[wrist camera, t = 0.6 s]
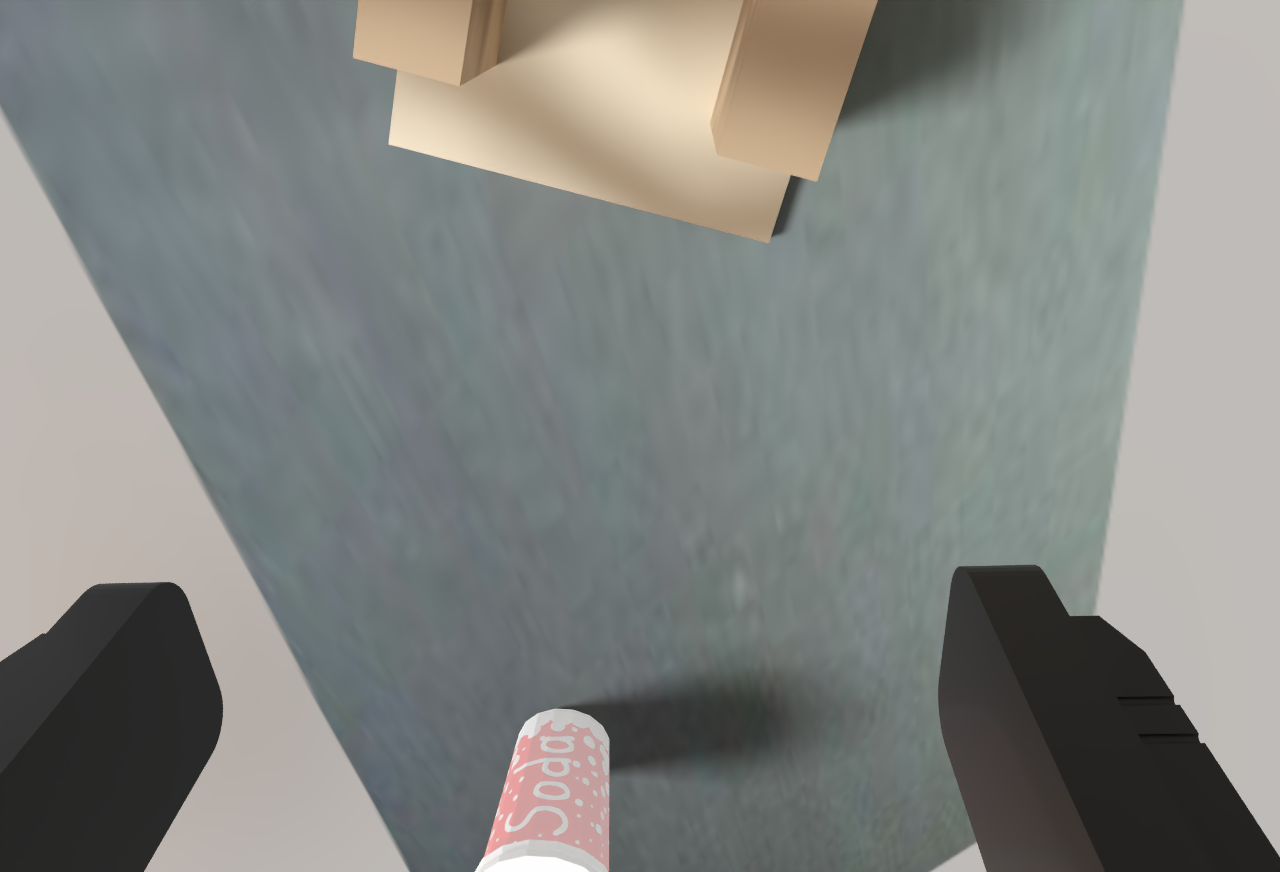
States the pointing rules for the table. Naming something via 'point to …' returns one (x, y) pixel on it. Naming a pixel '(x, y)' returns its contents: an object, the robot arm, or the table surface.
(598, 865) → the beverage cup
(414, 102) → the wooden stand
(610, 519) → the table surface
